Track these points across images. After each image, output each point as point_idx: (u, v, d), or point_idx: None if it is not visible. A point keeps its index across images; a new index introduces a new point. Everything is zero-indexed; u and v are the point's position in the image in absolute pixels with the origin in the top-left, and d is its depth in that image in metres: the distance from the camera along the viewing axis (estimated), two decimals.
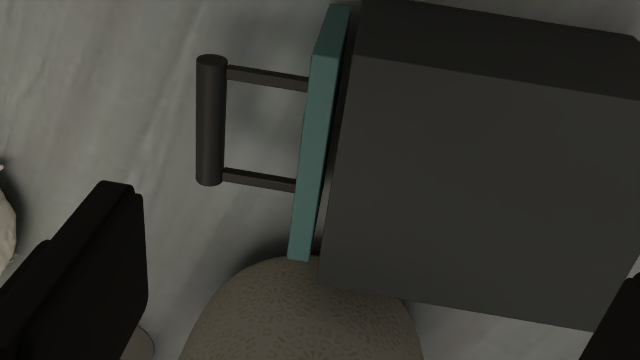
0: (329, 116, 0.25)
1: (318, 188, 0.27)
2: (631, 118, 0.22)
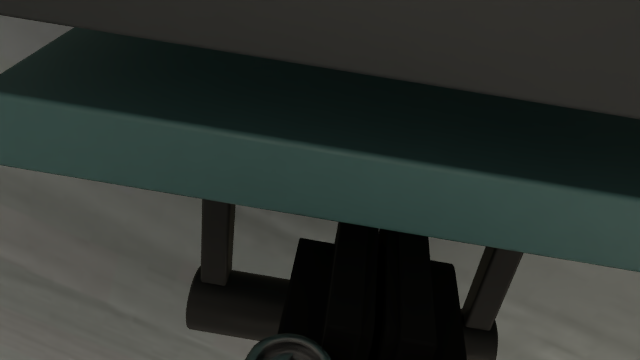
0: (173, 127, 0.07)
1: (463, 175, 0.07)
2: None
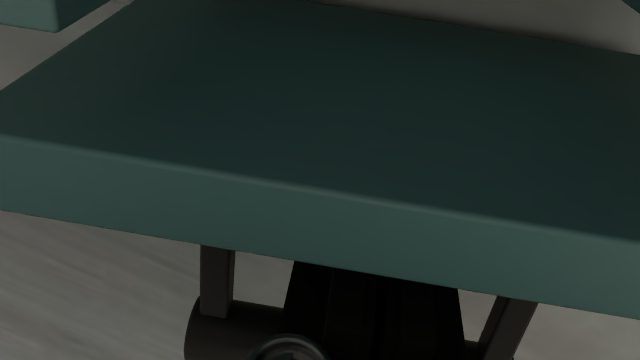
0: (164, 168, 0.07)
1: (487, 223, 0.07)
2: None
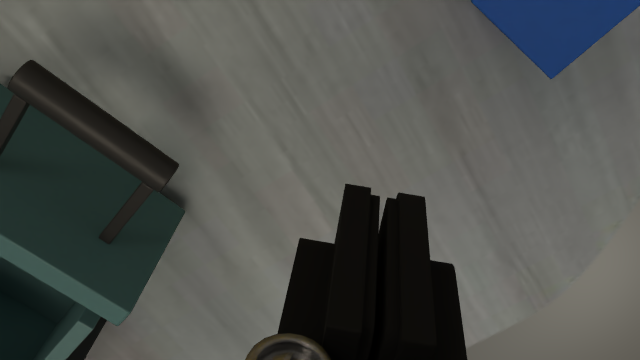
0: (64, 294, 0.24)
1: None
2: None
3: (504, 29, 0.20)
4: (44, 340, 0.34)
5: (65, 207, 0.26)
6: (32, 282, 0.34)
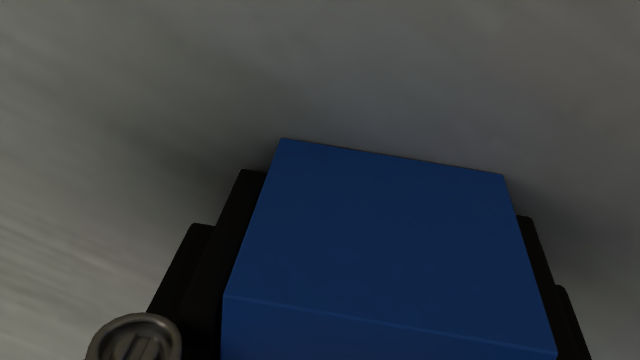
0: None
1: None
2: None
3: None
4: None
5: None
6: None
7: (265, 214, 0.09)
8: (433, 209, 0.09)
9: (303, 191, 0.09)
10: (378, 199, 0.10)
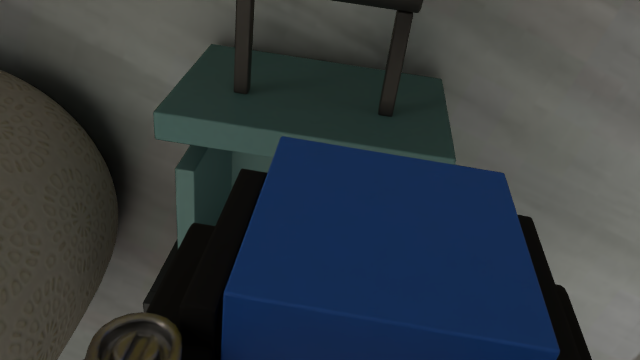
0: None
1: None
2: None
3: None
4: None
5: (331, 103, 0.23)
6: None
7: (266, 212, 0.09)
8: (434, 207, 0.09)
9: (304, 189, 0.09)
10: (378, 198, 0.09)
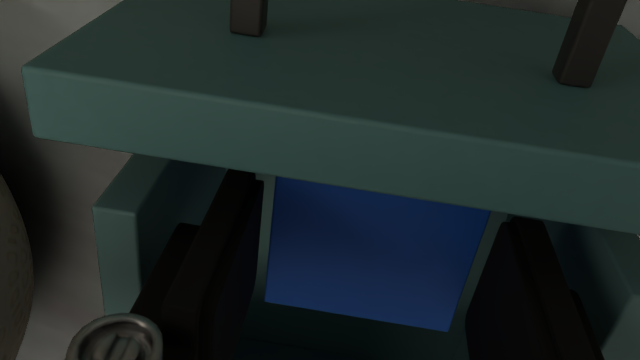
0: (594, 225, 0.08)
1: (337, 183, 0.08)
2: None
3: (332, 309, 0.13)
4: None
5: (447, 58, 0.10)
6: None
7: None
8: None
9: None
10: None
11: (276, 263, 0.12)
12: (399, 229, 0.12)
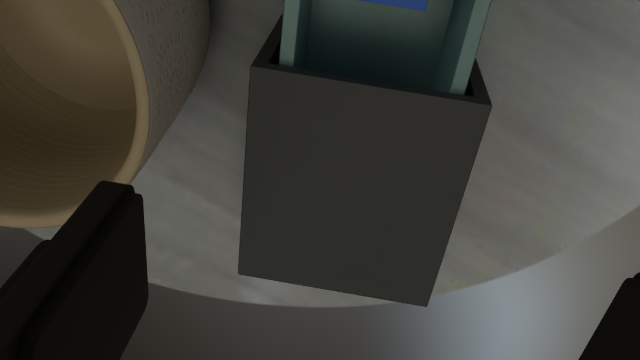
0: None
1: None
2: (426, 268, 0.35)
3: (374, 1, 0.30)
4: None
5: None
6: (395, 56, 0.36)
7: None
8: None
9: None
10: None
11: None
12: None
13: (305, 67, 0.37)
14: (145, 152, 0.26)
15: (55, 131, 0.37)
